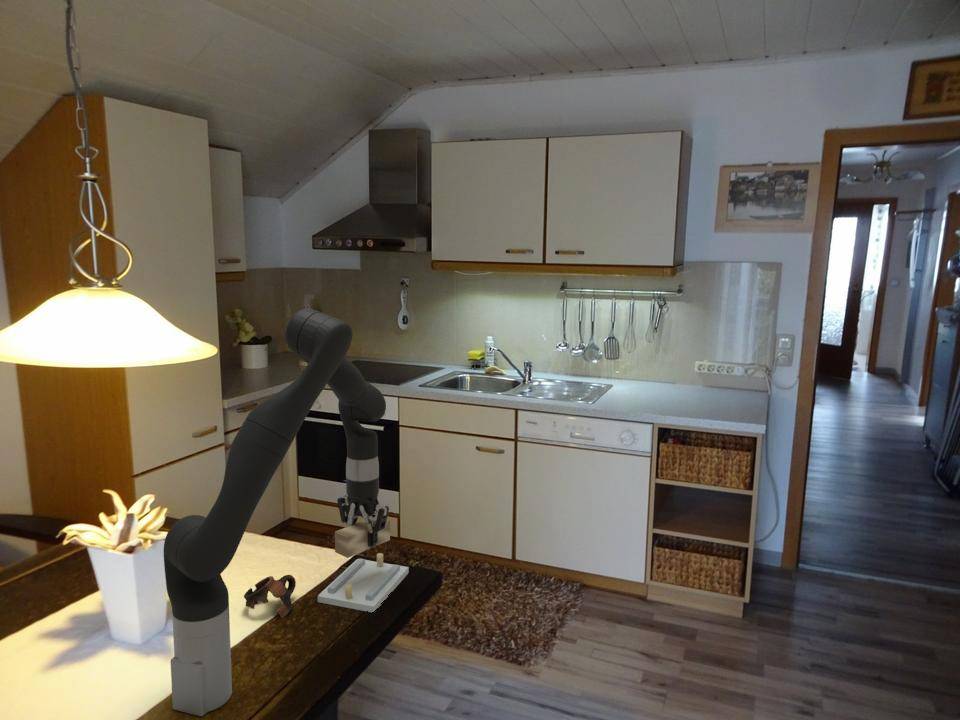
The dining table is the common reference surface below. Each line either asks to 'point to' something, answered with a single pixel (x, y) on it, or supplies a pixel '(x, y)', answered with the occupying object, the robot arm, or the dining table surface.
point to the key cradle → (364, 584)
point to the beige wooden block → (357, 538)
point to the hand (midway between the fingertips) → (363, 542)
